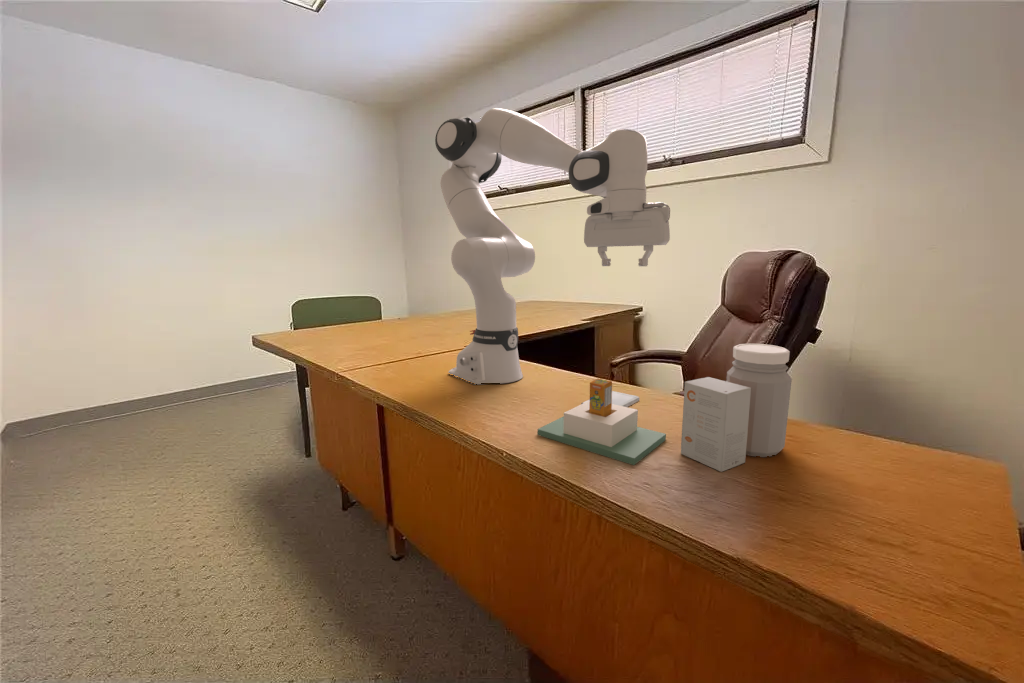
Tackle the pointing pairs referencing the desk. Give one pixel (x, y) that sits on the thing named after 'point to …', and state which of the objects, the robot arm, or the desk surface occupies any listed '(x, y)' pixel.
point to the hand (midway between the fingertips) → (624, 266)
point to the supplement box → (601, 397)
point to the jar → (763, 394)
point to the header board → (616, 452)
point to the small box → (715, 422)
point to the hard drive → (622, 399)
